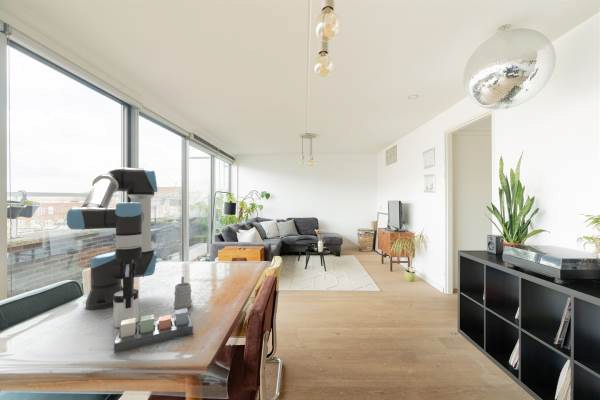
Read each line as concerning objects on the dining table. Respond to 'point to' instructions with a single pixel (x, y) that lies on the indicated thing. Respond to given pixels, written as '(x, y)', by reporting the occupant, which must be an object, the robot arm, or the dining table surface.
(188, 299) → the mug
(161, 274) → the dining table surface
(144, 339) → the key panel
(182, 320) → the key slate
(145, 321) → the key sage
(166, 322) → the key coral
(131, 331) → the key ivory
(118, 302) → the jar
